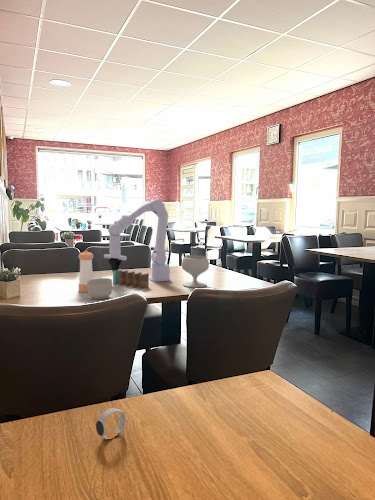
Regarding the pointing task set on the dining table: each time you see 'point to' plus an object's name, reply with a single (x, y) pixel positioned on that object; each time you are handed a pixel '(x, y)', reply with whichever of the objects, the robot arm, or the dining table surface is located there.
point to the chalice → (195, 269)
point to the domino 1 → (116, 276)
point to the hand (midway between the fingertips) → (115, 272)
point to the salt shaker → (85, 270)
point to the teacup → (99, 288)
